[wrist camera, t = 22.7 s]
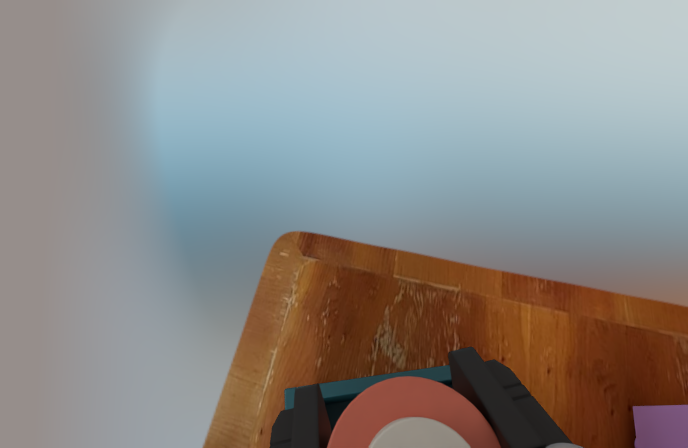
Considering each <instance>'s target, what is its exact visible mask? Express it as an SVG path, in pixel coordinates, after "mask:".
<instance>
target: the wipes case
mask: <svg viewBox="0 0 688 448" xmlns="http://www.w3.org/2000/svg"><path fill="white" fill-rule="evenodd" d="M404 376H412V377H422V378H426V379H431V380H434V381H437V382H439V383H442V384H444V385H446V386H448V387H450V388H452V389H453V386H452V379H451V372H450V365H446V366H439V367H432V368H425V369H418V370H411V371H404V372H398V373H391V374H384V375H377V376H370V377H363V378H356V379H349V380H342V381H335V382H328V383H321V384H319V386H320V389H321V392H322V396H323V400H324V403H325V407H326V411H327V414H328V418H329V422H330V426H331V431H332V432H333V429H334V427H335V425H336V423H337V421H338V419H339V418H340V416H341V414H342V413H343V411H344V410H345V409H346V408H347V406H348V405H349V404H350V403H351V402H352V401H353V400H354V399H355V398H356V397H357V396H358V395H359V394H360V393H362V392H363V391H364V390H366V389H367V388H369V387H371V386H372V385H374V384H376V383H378V382H381V381H384V380H386V379H391V378H395V377H404ZM308 386H309V385H308ZM301 387H305V386H301ZM301 387H298V388H301ZM295 389H297V387H294V388H287V389H285V410H288V409H292V408H294V393H295Z"/></svg>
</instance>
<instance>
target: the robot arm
mask: <svg viewBox="0 0 688 448" xmlns="http://www.w3.org/2000/svg"><path fill="white" fill-rule="evenodd" d="M448 359H449V365H450V372H451V379H452V386H453V390H455V391H456V392H458V393H459V394H461V395H463V396H464V397H465V398H466V399H467V400H468V401H470V402H471V403H472V404H473V405H474V406H475V407H476V408H477V409H478V410H479V411H480V412H481V413H482V415H483V416H484V417H485V419H486V420H487V421H488V423H489V424H490V425H491V427H492V429H493V430H494V432H495V434H496V436H497V438H498V441H499V443H500V446H501V448H583V447H581V446H578V445H574V444H573V443H572V442H571V441H570V440H569V439H568V438H567V436H566V435H565V434H564V433H563V432H562V430H561V429H560V428H559V427H558V426H557V424H556V423H555V422H554V421H553V420H552V418H551V417H550V416H549V415H548V414H547V413H546V411H545V410H544V409H543V408H542V407H541V405H540V404H539V403H538V402H537V401H536V399H535V398H534V397H533V396H531V394H530V392H529V391H528V390H527V389H526V387H525V386H524V385H522V384H521V381H520V380H519V379H518V378H517V377H516V375H515V374H514V373H513V372H512V371H511V370H510V369H509V368H508V367H506V366H504V365H503V364H501V363H499V362H498V361H496V360H490V361H486V362H484V361H483V360H482V358H481V357H480V356H479V354H478V353H477V352H476V350H475V349H474V348H473V347H468V348H463V349H459V350H455V351H451V352H449V353H448ZM331 434H332V431H331V426H330V422H329V418H328V414H327V411H326V407H325V403H324V400H323V396H322V392H321V389H320V386H319V384H318V383H317V384H313V385H309V386H305V387H301V388H297V389H295V393H294V408H292V409H288V410H283V411H281V412H280V414H279V415H278V417H277V419H276V421H275V423H274V425H273V426H272V433H271V440H270V448H327V446H328V443H329V440H330V437H331Z"/></svg>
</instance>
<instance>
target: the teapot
mask: <svg viewBox="0 0 688 448" xmlns="http://www.w3.org/2000/svg"><path fill="white" fill-rule="evenodd" d="M633 414H634V423H635V431H636V439H635V448H688V405H664V406H633Z"/></svg>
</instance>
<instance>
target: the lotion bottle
mask: <svg viewBox="0 0 688 448" xmlns="http://www.w3.org/2000/svg"><path fill="white" fill-rule="evenodd" d="M327 448H501V446H500V443H499V441H498V438H497V436H496V434H495V432H494V430H493V429H492V427H491V425H490V424H489V423H488V421H487V420H486V419H485V417H484V416H483V415H482V413H481V412H480V411H479V410H478V409H477V408H476V407H475V406H474V405H473V404H472V403H471V402H470V401H468V400H467V399H466V398H465V397H464V396H463V395H461V394H459V393H458V392H456V391H455V390H453V389H452V388H450V387H448V386H446V385H444V384H442V383H439V382H437V381H434V380H431V379H426V378H422V377H412V376H404V377H395V378H391V379H386V380H384V381H381V382H378V383H376V384H374V385H372V386H371V387H369V388H367V389H366V390H364V391H363V392H362V393H360V394H359V395H358V396H357V397H356V398H355V399H354V400H353V401H352V402H351V403H350V404H349V405H348V406H347V408H346V409H345V410H344V411H343V413H342V414H341V416H340V418H339V419H338V421H337V423H336V425H335V427H334V429H333V432H332V434H331V437H330V440H329V443H328V446H327Z"/></svg>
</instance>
